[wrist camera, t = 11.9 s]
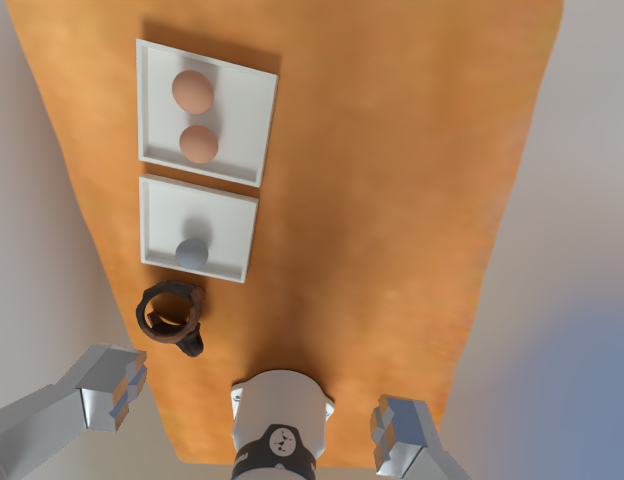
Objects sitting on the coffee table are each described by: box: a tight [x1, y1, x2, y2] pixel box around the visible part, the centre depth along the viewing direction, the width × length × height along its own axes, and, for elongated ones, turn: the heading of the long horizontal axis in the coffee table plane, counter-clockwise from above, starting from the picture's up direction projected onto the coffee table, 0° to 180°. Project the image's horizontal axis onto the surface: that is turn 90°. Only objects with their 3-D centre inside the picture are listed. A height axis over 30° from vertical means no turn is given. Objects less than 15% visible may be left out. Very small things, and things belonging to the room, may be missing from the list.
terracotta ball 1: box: [172, 70, 214, 114], centre depth 30 cm, size 4×4×4 cm
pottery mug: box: [136, 280, 206, 357], centre depth 43 cm, size 12×9×8 cm
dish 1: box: [136, 38, 279, 188], centre depth 33 cm, size 12×14×2 cm
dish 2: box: [139, 173, 259, 283], centre depth 39 cm, size 12×14×2 cm
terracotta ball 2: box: [179, 125, 218, 164], centre depth 33 cm, size 4×4×4 cm
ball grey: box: [175, 239, 209, 270], centre depth 39 cm, size 4×4×4 cm
